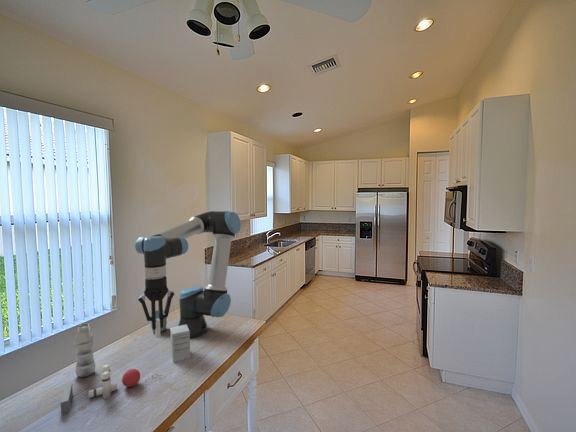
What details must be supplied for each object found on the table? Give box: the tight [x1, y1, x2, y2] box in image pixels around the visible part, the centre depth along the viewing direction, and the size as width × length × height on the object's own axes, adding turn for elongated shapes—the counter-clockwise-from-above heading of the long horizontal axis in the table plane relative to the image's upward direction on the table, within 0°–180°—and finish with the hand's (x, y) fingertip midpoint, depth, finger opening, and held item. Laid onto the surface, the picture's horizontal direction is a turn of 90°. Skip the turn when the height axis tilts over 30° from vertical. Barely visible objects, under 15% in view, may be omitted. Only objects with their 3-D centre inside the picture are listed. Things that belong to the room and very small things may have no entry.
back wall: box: [60, 383, 74, 415], centre depth 98 cm, size 2×10×4 cm, turn 31°
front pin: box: [88, 382, 118, 399], centre depth 104 cm, size 2×2×8 cm
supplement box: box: [170, 325, 191, 363], centre depth 128 cm, size 7×7×13 cm
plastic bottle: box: [73, 323, 97, 378], centre depth 115 cm, size 6×7×20 cm
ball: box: [121, 368, 141, 388], centre depth 108 cm, size 6×6×6 cm
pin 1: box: [101, 363, 112, 384], centre depth 106 cm, size 2×2×8 cm
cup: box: [149, 309, 168, 333], centre depth 152 cm, size 8×8×10 cm
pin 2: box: [101, 371, 112, 400], centre depth 102 cm, size 2×2×8 cm
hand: (157, 336), depth 112 cm, fingers closed
